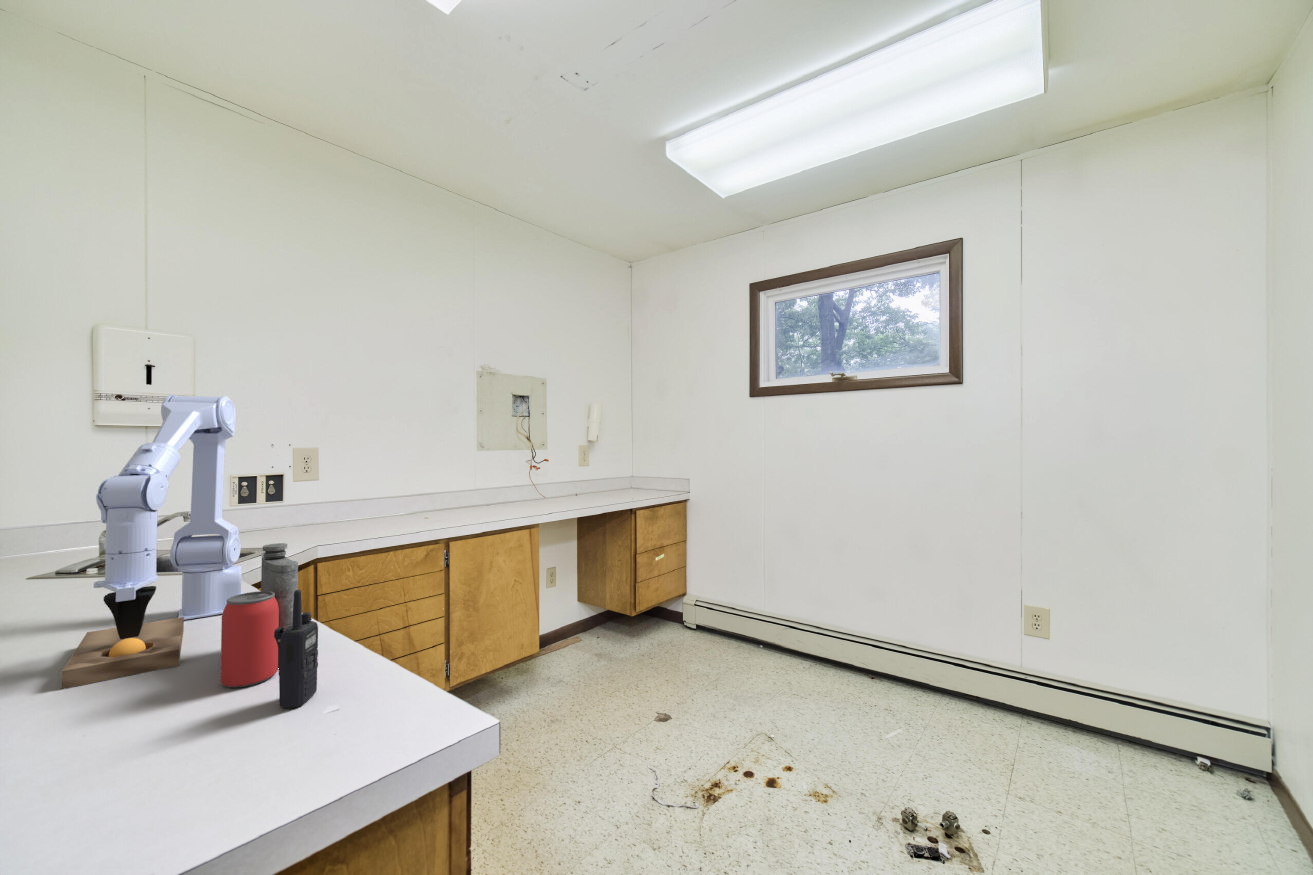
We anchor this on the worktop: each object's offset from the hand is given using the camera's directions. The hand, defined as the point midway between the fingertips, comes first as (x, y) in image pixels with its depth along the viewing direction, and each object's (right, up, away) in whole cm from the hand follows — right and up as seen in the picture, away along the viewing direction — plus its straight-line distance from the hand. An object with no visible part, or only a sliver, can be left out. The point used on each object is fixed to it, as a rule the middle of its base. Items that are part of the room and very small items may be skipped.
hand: (129, 636), depth 82 cm
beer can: (+24, -4, -7) cm, 26 cm away
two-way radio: (+35, -4, -13) cm, 38 cm away
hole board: (-1, -4, +1) cm, 4 cm away
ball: (+2, -2, -2) cm, 3 cm away
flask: (+22, -4, +2) cm, 22 cm away
